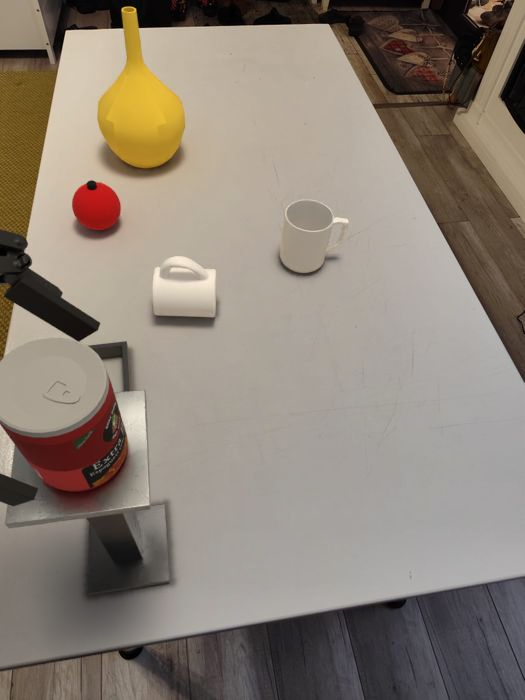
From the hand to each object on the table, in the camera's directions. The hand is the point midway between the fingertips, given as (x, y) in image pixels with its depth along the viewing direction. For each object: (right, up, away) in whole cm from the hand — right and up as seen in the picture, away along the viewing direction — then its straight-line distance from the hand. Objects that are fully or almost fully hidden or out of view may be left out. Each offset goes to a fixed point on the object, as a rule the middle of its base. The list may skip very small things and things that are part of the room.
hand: (61, 406), depth 37 cm
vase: (-12, +48, +81) cm, 95 cm away
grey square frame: (-13, -2, +44) cm, 46 cm away
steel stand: (-3, -22, +31) cm, 38 cm away
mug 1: (+1, +11, +56) cm, 57 cm away
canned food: (-1, -5, +7) cm, 8 cm away
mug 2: (+24, +22, +65) cm, 73 cm away
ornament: (-18, +29, +67) cm, 75 cm away
